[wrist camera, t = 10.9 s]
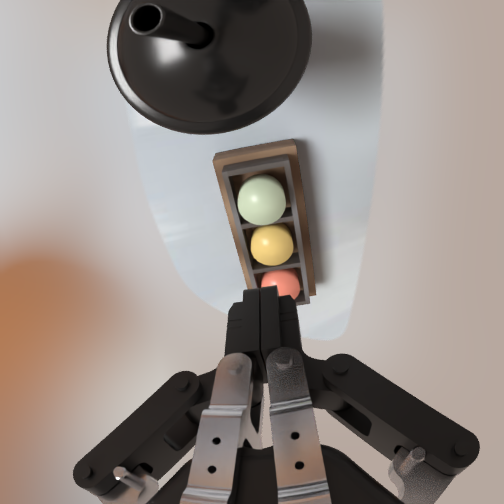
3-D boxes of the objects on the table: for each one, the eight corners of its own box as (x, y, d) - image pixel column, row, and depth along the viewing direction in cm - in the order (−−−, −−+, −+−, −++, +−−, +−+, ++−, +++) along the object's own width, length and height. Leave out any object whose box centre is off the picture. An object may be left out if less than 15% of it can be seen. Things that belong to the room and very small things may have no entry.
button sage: (234, 178, 23) (232, 187, 22) (280, 170, 23) (281, 178, 22) (244, 218, 25) (243, 228, 24) (287, 211, 25) (289, 220, 23)
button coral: (258, 267, 29) (258, 278, 28) (295, 261, 29) (297, 272, 27) (264, 295, 31) (265, 306, 30) (300, 289, 31) (301, 301, 29)
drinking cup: (291, 13, 19) (396, -100, 2) (272, 103, 23) (313, 239, 7) (191, -1, 18) (28, -101, 2) (175, 89, 22) (-3, 192, 6)
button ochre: (247, 224, 27) (246, 234, 25) (288, 217, 26) (290, 226, 25) (255, 257, 29) (255, 268, 27) (294, 251, 28) (295, 262, 27)
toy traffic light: (215, 153, 26) (209, 167, 23) (293, 138, 25) (298, 151, 22) (252, 291, 34) (252, 316, 31) (313, 282, 33) (318, 306, 30)
